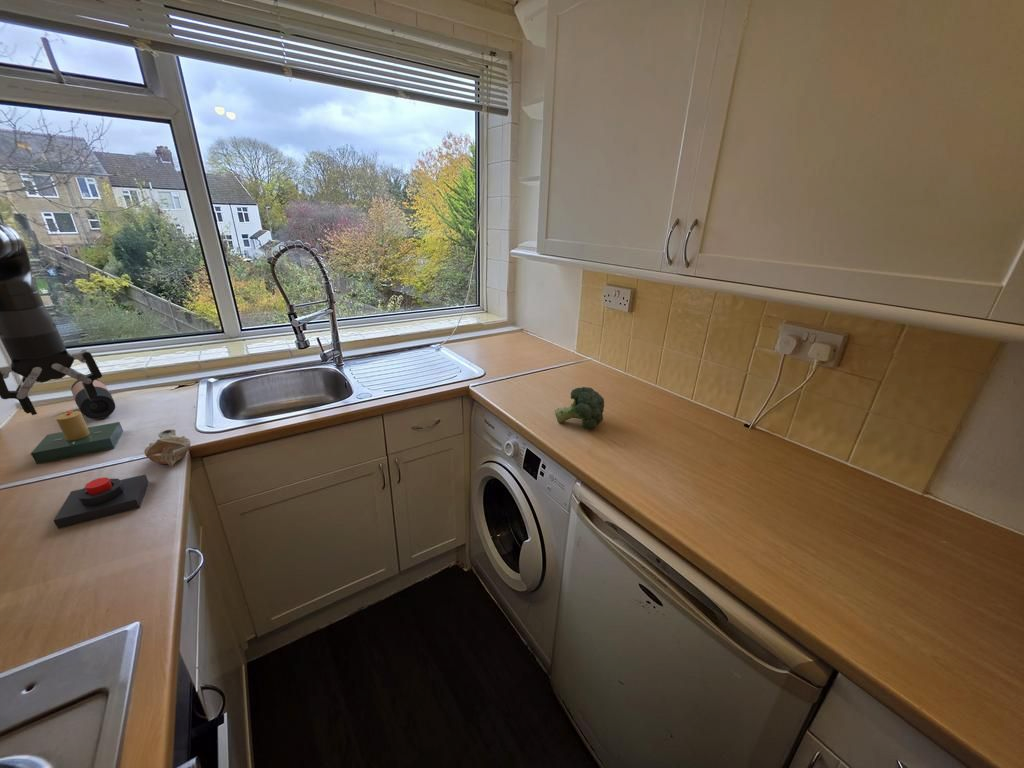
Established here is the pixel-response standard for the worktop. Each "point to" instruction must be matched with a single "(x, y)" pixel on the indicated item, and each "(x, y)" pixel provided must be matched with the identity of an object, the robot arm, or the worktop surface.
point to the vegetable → (583, 408)
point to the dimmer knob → (73, 425)
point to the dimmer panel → (77, 443)
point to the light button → (98, 486)
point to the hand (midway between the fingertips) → (63, 406)
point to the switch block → (102, 502)
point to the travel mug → (96, 407)
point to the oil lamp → (168, 448)
